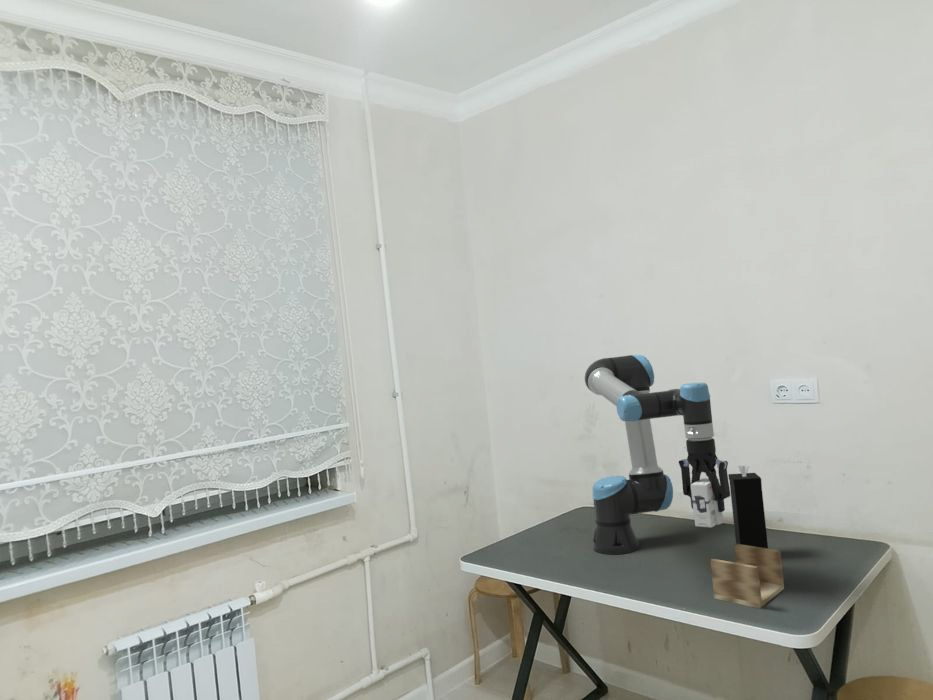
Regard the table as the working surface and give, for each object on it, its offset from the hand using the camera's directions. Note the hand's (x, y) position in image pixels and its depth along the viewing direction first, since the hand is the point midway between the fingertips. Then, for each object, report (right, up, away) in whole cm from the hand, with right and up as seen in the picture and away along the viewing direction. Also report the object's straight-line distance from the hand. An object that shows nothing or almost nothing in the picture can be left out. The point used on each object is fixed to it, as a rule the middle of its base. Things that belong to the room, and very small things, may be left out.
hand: (709, 521), depth 179 cm
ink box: (0, -1, 0) cm, 1 cm away
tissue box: (+21, -16, +20) cm, 33 cm away
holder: (+8, -17, -7) cm, 20 cm away
